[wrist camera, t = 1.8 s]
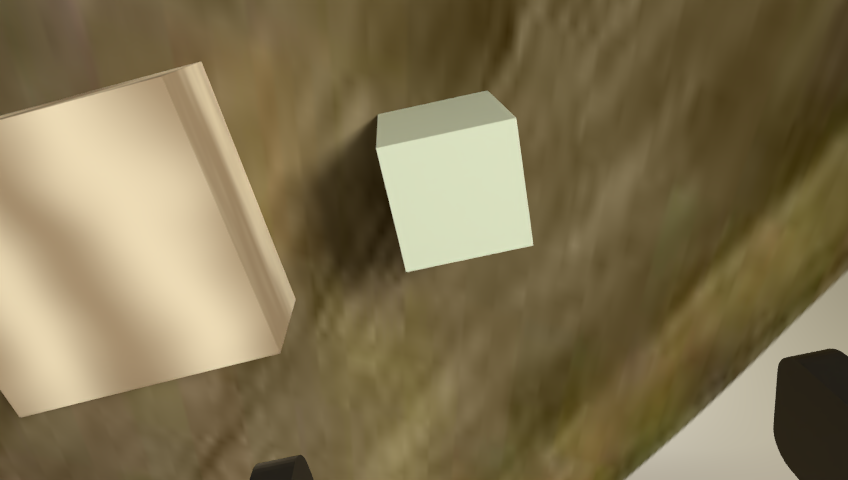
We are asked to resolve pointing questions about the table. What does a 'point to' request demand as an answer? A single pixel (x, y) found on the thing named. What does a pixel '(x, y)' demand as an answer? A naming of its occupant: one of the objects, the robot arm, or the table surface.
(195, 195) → the birch block
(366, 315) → the table surface
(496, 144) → the sage block
